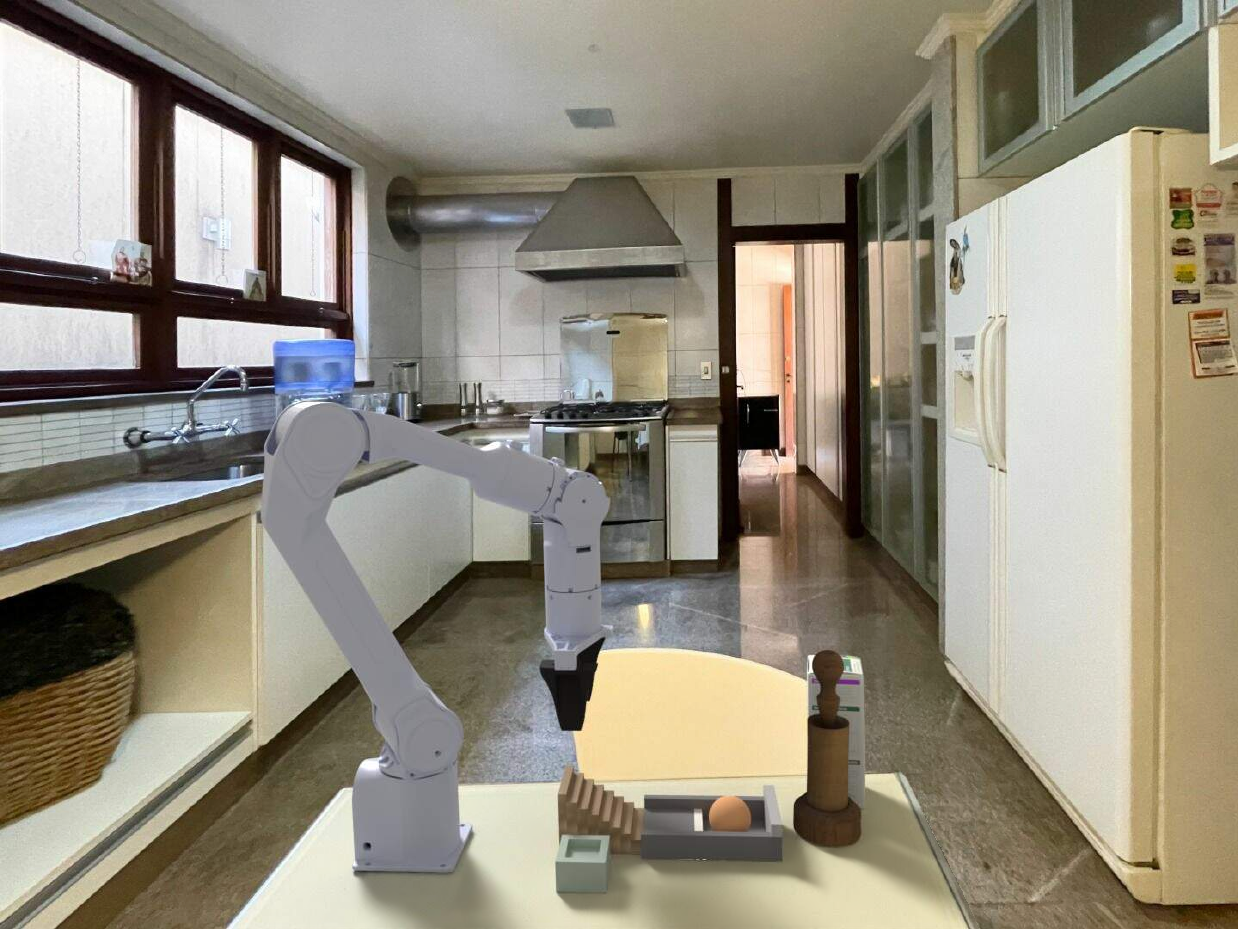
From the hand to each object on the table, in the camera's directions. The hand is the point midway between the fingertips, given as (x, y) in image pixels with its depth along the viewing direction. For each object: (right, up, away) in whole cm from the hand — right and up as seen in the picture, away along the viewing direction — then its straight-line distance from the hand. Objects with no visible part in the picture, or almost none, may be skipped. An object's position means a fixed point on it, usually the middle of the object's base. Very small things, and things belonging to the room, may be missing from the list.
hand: (576, 714), depth 90 cm
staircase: (+3, -10, -5) cm, 12 cm away
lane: (+13, -10, -6) cm, 17 cm away
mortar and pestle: (+25, -10, -5) cm, 27 cm away
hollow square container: (+1, -11, -12) cm, 16 cm away
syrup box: (+27, -9, +2) cm, 29 cm away
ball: (+15, -8, -7) cm, 18 cm away
